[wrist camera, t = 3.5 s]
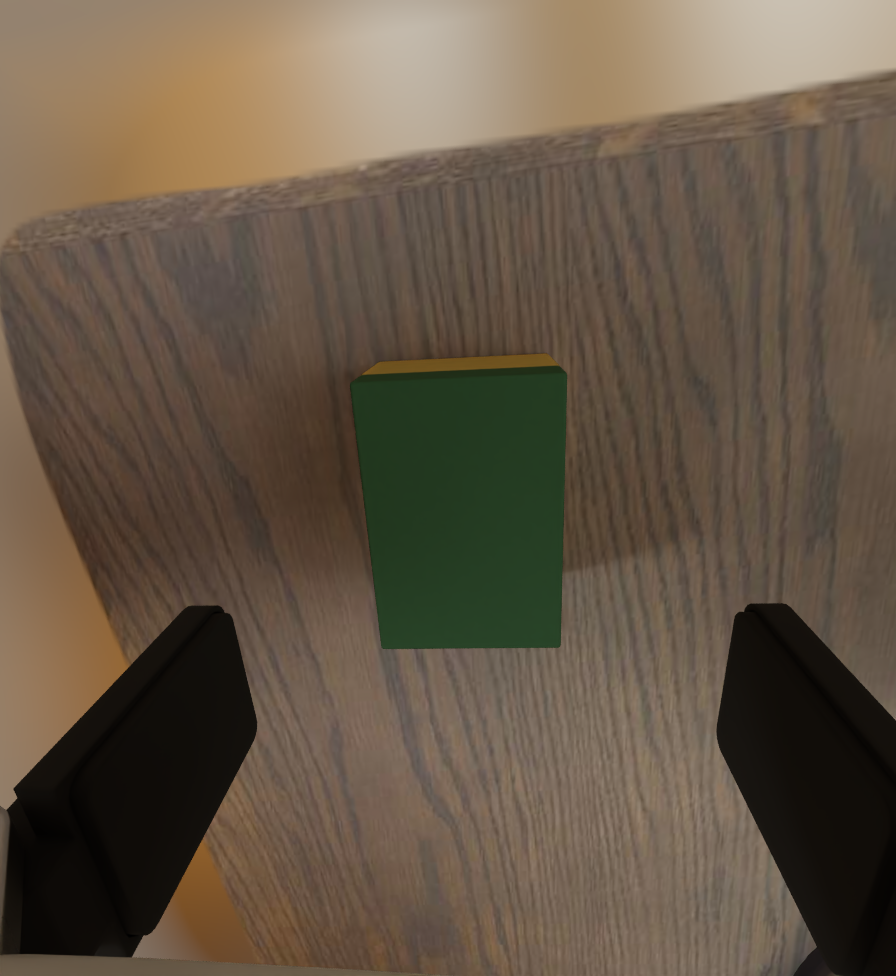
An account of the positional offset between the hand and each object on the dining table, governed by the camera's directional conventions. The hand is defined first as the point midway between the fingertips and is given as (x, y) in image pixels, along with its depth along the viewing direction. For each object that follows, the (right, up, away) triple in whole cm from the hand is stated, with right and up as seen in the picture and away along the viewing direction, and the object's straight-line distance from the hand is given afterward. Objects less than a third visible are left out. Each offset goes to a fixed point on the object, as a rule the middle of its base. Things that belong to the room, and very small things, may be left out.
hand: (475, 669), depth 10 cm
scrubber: (0, +4, +10) cm, 11 cm away
